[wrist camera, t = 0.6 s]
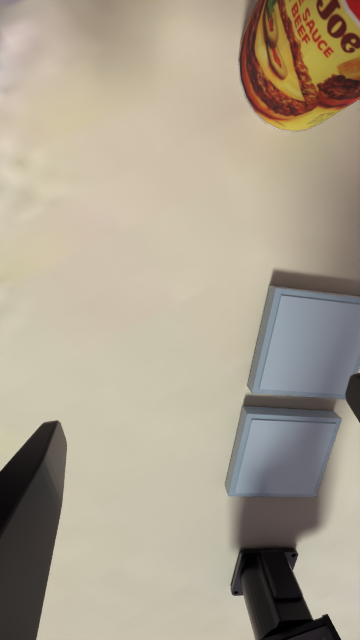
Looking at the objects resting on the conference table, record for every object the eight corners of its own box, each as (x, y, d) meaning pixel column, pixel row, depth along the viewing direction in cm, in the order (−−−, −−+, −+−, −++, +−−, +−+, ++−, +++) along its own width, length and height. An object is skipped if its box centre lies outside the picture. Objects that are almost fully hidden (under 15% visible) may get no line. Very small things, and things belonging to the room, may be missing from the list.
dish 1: (339, 392, 27) (349, 399, 26) (247, 385, 26) (252, 393, 24) (370, 297, 24) (382, 301, 23) (269, 285, 23) (276, 288, 22)
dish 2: (309, 487, 30) (316, 498, 29) (225, 485, 29) (228, 497, 27) (333, 411, 28) (342, 419, 26) (242, 405, 26) (247, 414, 25)
